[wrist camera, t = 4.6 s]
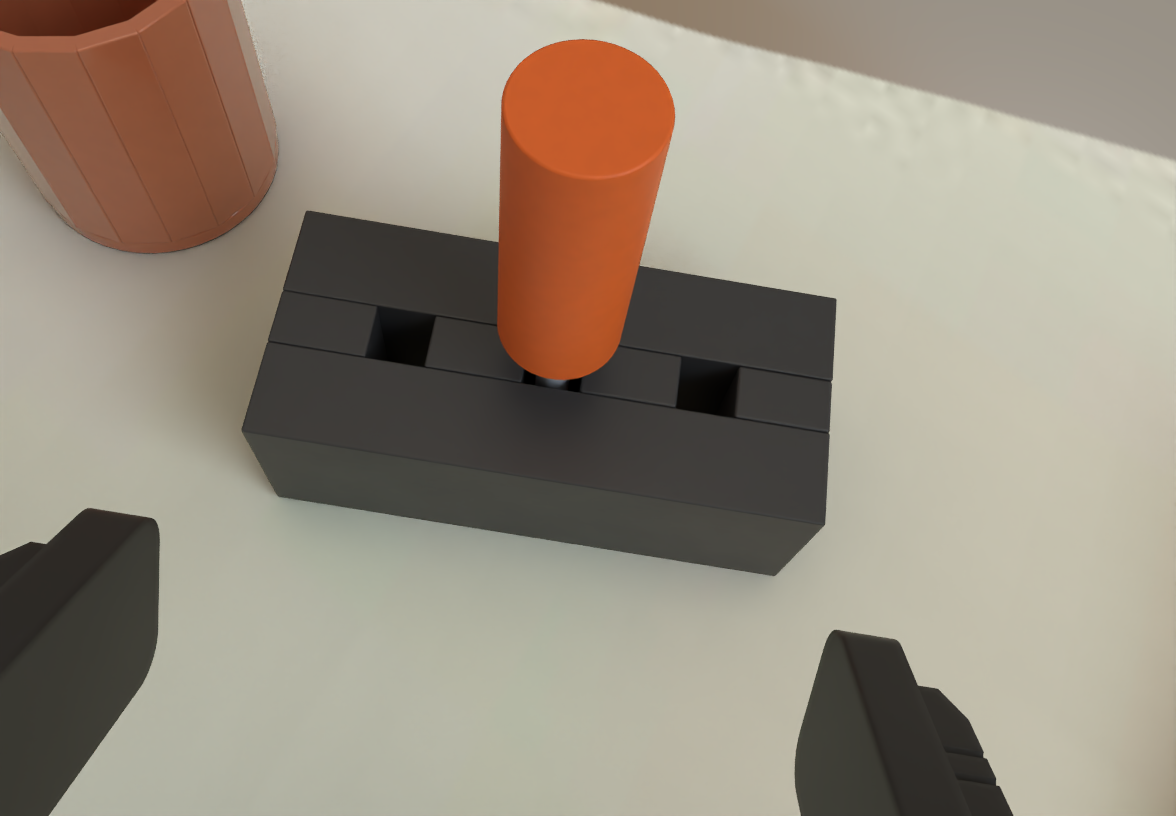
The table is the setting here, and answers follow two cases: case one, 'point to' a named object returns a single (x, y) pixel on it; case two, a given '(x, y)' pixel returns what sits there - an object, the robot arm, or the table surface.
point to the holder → (545, 404)
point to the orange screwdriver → (576, 201)
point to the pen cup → (138, 116)
